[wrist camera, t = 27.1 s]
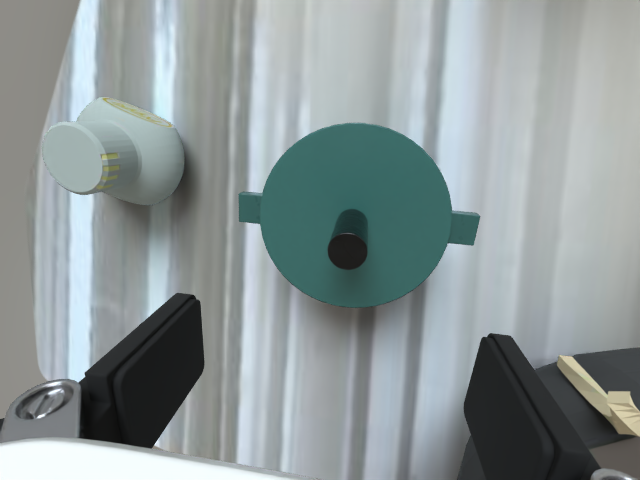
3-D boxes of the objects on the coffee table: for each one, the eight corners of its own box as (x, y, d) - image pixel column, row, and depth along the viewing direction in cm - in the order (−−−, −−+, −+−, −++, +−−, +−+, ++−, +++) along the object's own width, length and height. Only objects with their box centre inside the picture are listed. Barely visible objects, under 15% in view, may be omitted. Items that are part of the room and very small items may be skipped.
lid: (264, 116, 25) (225, 113, 18) (467, 129, 23) (506, 131, 16) (263, 290, 30) (232, 338, 23) (430, 311, 28) (450, 369, 21)
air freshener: (204, 135, 35) (144, 139, 25) (185, 205, 38) (124, 231, 28) (109, 91, 35) (13, 79, 25) (97, 165, 38) (7, 178, 28)
